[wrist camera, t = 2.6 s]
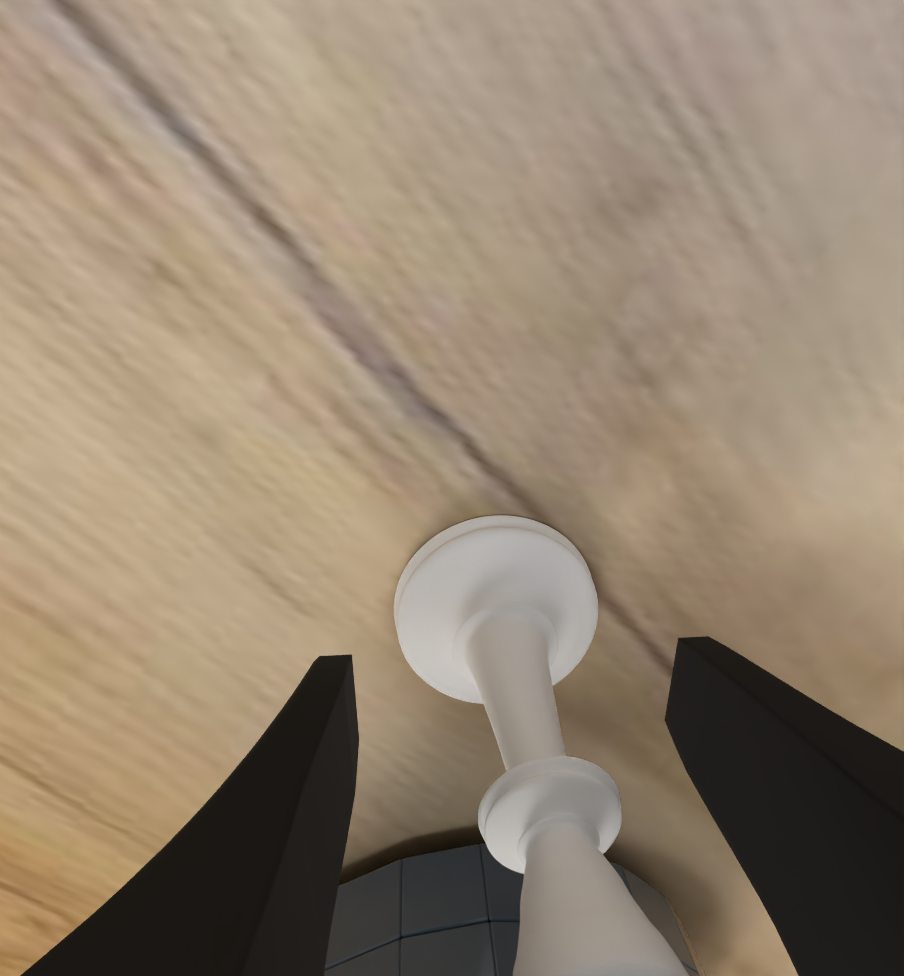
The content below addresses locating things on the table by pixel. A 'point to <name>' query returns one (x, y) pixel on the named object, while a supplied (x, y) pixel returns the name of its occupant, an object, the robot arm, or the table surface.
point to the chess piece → (530, 735)
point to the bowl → (454, 918)
